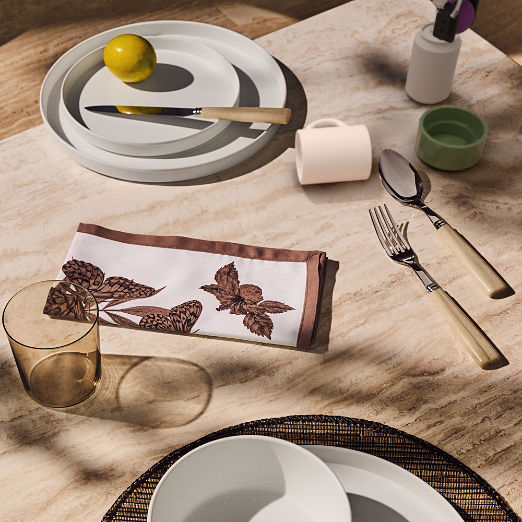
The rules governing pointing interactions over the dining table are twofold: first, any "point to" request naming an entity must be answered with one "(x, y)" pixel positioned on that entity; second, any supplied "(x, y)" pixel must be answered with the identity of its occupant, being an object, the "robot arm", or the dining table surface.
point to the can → (431, 66)
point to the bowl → (450, 137)
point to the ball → (464, 15)
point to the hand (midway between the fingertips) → (453, 29)
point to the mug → (332, 152)
